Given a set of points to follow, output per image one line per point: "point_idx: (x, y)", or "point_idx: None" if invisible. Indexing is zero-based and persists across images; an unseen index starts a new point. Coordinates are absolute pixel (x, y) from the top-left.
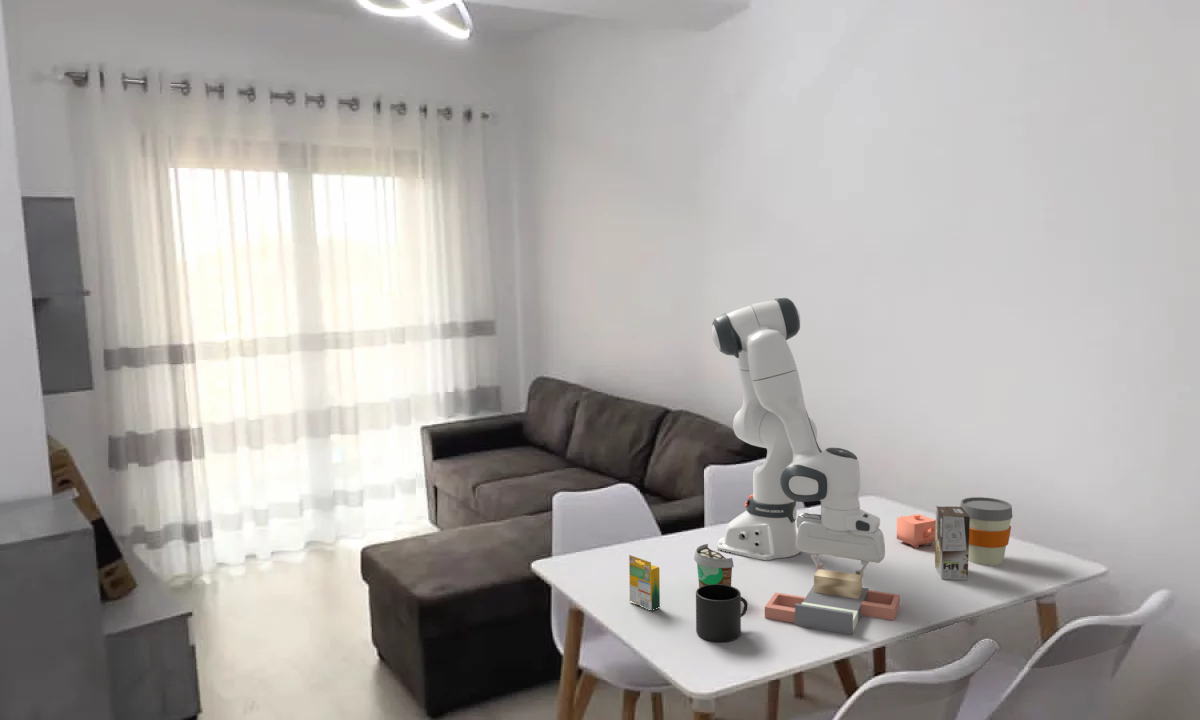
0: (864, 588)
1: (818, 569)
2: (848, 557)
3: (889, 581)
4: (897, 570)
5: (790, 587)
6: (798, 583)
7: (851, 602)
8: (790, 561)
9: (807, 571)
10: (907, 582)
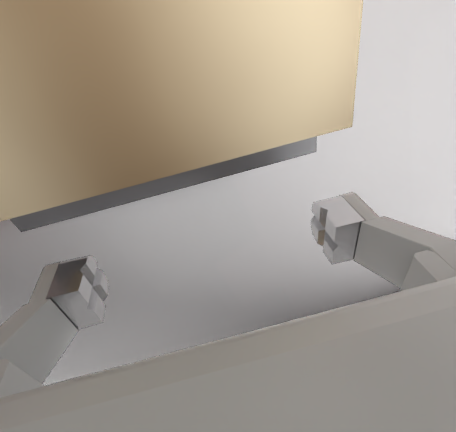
0: (36, 217)
1: (348, 113)
2: (103, 380)
3: (108, 349)
4: None
5: (416, 90)
6: (383, 158)
7: None
8: None
9: (362, 266)
10: (62, 371)
